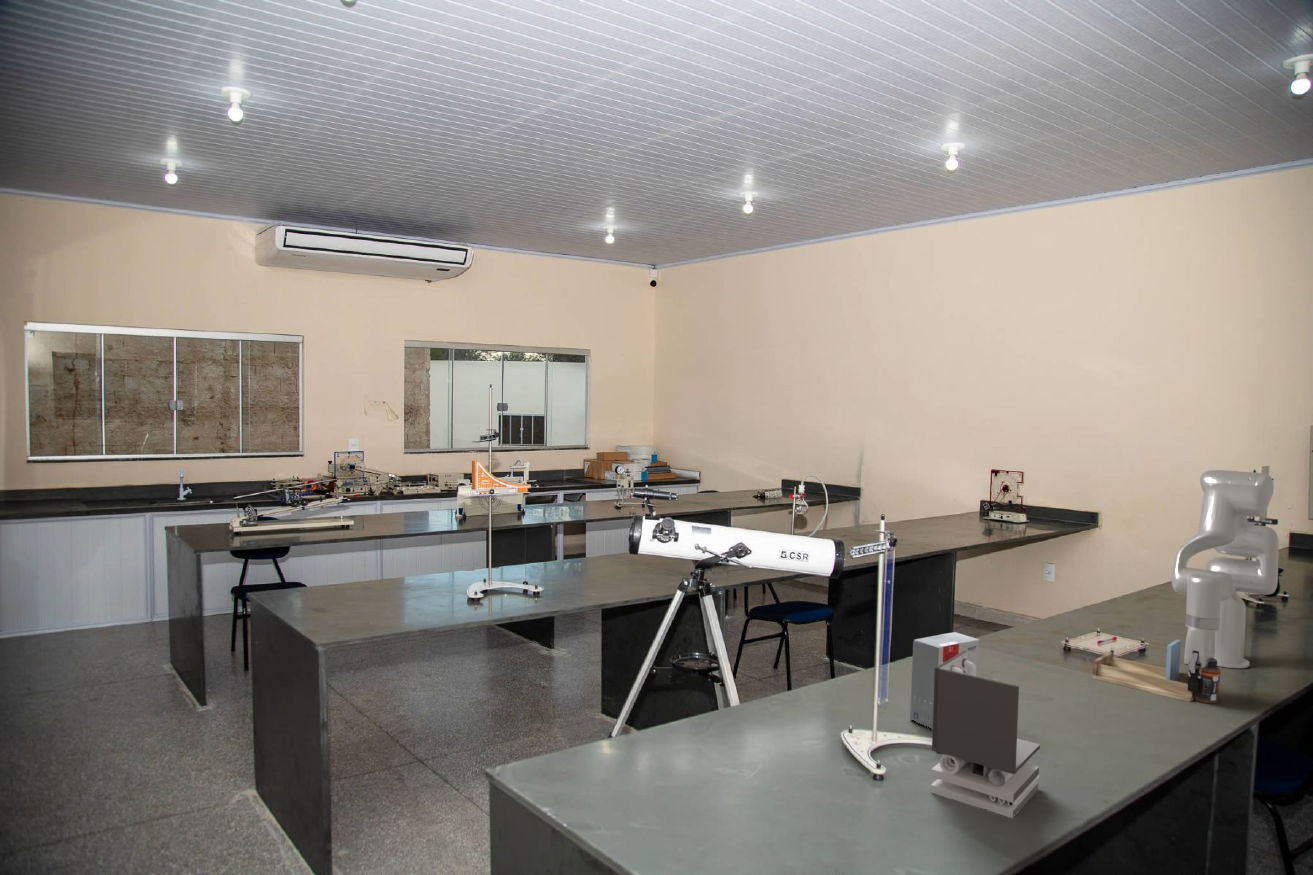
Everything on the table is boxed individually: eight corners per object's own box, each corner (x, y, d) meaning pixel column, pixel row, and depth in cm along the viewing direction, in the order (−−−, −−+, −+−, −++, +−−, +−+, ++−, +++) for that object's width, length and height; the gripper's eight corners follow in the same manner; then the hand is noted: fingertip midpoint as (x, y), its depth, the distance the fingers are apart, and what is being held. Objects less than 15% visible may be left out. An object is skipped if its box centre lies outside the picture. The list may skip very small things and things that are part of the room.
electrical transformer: (930, 792, 166) (934, 668, 165) (966, 761, 181) (970, 646, 180) (1012, 819, 156) (1017, 687, 155) (1043, 783, 171) (1048, 662, 169)
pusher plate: (1174, 681, 231) (1176, 639, 230) (1178, 682, 230) (1180, 640, 229) (1165, 688, 225) (1167, 645, 224) (1169, 689, 224) (1171, 646, 224)
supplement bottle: (1221, 706, 217) (1225, 663, 216) (1195, 702, 218) (1199, 660, 217) (1212, 697, 223) (1216, 655, 222) (1186, 694, 224) (1191, 653, 223)
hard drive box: (934, 731, 197) (936, 647, 196) (908, 720, 203) (911, 639, 202) (976, 718, 205) (979, 638, 204) (950, 708, 212) (953, 630, 210)
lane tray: (1108, 668, 245) (1109, 651, 245) (1204, 690, 228) (1205, 672, 227) (1092, 678, 236) (1093, 660, 236) (1190, 701, 219) (1191, 683, 218)
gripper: (1195, 613, 229) (1192, 677, 230) (1176, 625, 217) (1172, 692, 218) (1228, 619, 223) (1224, 684, 224) (1209, 631, 211) (1206, 700, 212)
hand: (1199, 688), depth 221 cm, fingers open, 7 cm apart
